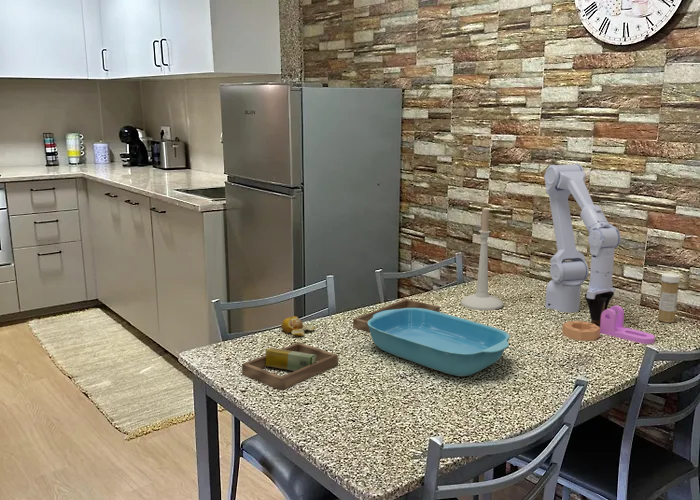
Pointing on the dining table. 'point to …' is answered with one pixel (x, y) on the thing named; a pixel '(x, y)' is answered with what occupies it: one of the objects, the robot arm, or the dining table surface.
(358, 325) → the wagon frame
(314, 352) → the box frame
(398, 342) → the casserole dish
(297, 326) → the fruit
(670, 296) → the sprinkles bottle
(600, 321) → the peg
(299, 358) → the medication box
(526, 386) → the dining table surface
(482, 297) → the candlestick
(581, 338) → the orange flat ring
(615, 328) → the bracket
